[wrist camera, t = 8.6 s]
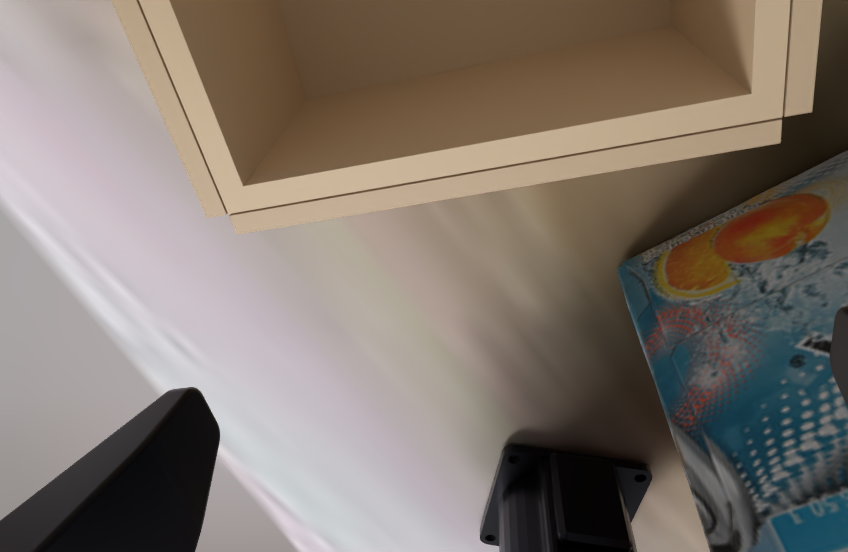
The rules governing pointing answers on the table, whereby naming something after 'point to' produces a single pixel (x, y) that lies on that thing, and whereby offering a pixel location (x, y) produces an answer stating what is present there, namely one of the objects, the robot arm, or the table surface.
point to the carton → (457, 93)
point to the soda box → (755, 362)
